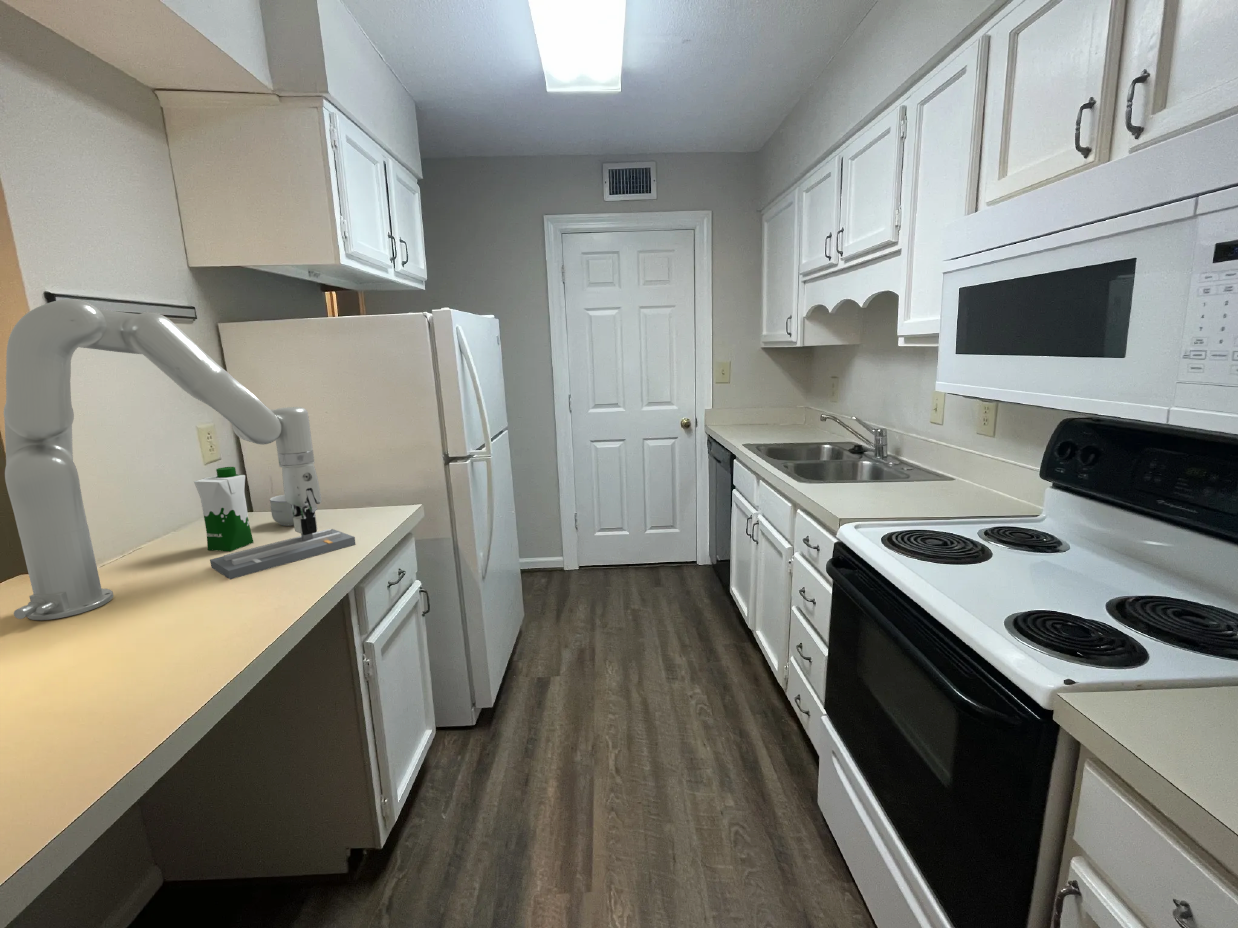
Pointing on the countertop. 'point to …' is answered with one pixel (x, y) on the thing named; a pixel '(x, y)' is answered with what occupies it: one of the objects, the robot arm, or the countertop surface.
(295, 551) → the fader panel
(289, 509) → the teacup
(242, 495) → the milk carton
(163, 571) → the countertop surface
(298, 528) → the fader
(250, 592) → the countertop surface
